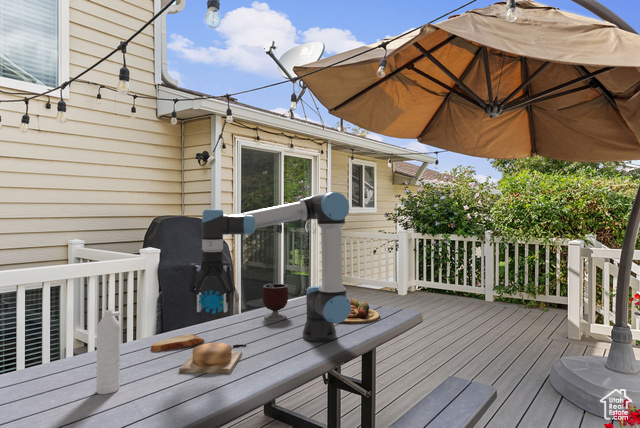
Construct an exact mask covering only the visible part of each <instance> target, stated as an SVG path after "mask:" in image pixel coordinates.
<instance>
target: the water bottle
mask: <svg viewBox="0 0 640 428" xmlns="http://www.w3.org/2000/svg"><path fill="white" fill-rule="evenodd" d="M103 311H104V313H103V317H102V318H100V321H99V322H98V324H97V326H96V355H95V356H96V361H95V362H96V379H95V381H96V384H95V385H96V386H95V388H96V390H95V391H96V393H97V394H98V395H109V394H113V393H115V392H117V391H119V390H120V387H121V383H120V382H121V381H120V380H121V379H120V377H121V374H120V371H121V370H120V369H121V368H120V365H121V363H120V361H121V358H120V357H121V356H120V354H121V351H120V350H121V348H120V345H121V343H120V341H121V340H120V339H121V336H120V335H121V333H120V331H121V324H120V322H119V321H118V319H117V318H116V317H117V316H118V317H119V316H120V315H121V311H113V310H112V309H107V310H103Z"/></svg>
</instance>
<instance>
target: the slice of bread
mask: <svg viewBox="0 0 640 428" xmlns="http://www.w3.org/2000/svg"><path fill="white" fill-rule="evenodd" d="M204 343H205V339H203V338H201V337H200V336H199V335H196V334H193V333H191V334H185V335H179V336H173V337H170V338H167V339H164V340H160V341H158V342H155V343H153V344H152V345H151V347H150V351H151V352H152V351H153V352H155V353H156V352H157V353H158V352H163V351H164V352H165V351H171V350H173V351H174V350H178V349H185V348H189V347H194V346H199V345H202V344H204ZM153 352H152V353H153Z"/></svg>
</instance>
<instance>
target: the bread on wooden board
mask: <svg viewBox="0 0 640 428" xmlns="http://www.w3.org/2000/svg"><path fill="white" fill-rule="evenodd" d="M232 348H233V347H232V345H231V344H229V343H226V342H208V343H207V342H206V343H202V344H199V345H195V347H194V348H192V355H190V357H189V358H187V360H186V361H184V363H182V365H180V366H179V368H178V373H180V374H181V373H182V374H183V373H185V374H210V373H211V374H231V373H232V371H233V370H234V368H235V367H236V365H237V364H238V362H239V360H240V359H241V357H242V355H243V351H241V350H240V351H239V350H238V351H236V350H234V351H233V350H232Z"/></svg>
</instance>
